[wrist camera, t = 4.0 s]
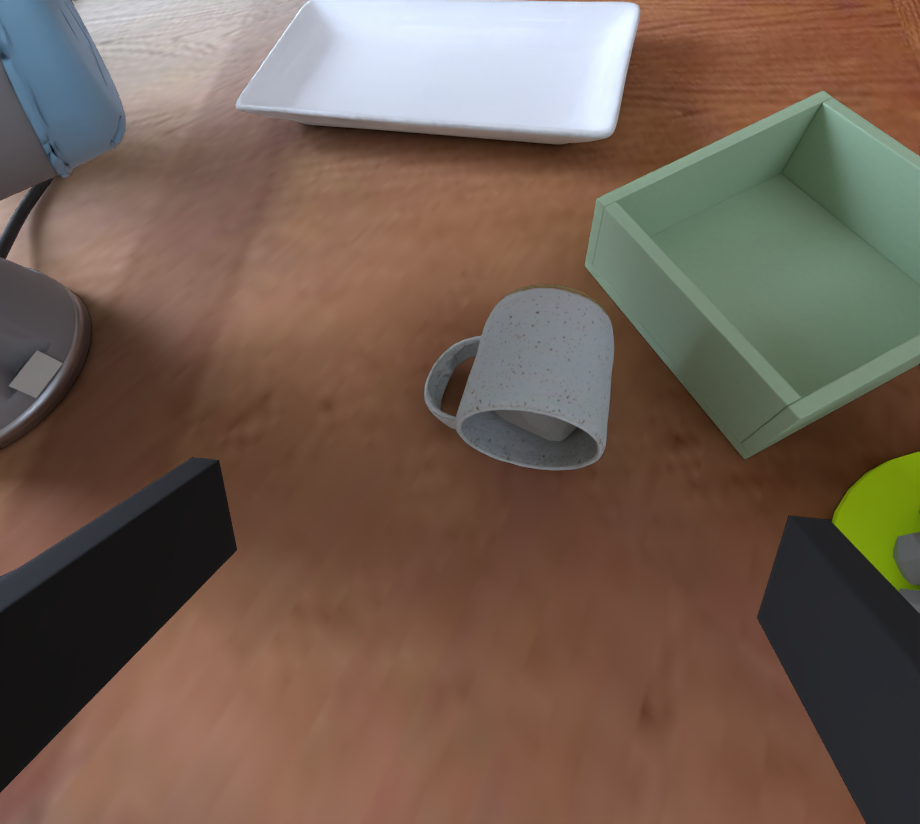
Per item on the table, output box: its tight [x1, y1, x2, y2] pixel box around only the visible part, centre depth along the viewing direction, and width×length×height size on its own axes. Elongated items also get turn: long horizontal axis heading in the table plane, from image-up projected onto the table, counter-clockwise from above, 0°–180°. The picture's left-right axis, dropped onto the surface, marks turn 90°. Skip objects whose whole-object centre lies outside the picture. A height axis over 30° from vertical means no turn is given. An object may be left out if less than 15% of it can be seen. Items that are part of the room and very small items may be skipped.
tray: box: [235, 0, 640, 145], centre depth 41 cm, size 17×31×4 cm, turn 74°
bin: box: [585, 91, 920, 459], centre depth 28 cm, size 16×16×6 cm
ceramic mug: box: [424, 284, 614, 470], centre depth 26 cm, size 11×8×8 cm
